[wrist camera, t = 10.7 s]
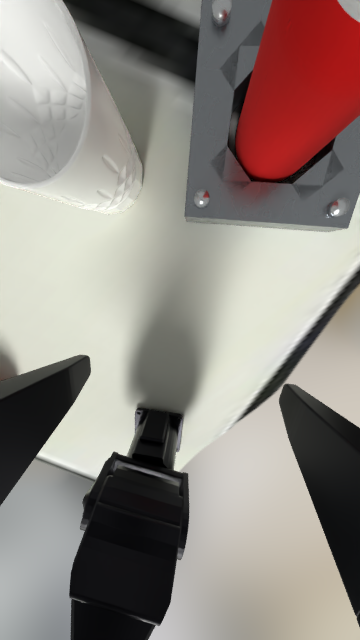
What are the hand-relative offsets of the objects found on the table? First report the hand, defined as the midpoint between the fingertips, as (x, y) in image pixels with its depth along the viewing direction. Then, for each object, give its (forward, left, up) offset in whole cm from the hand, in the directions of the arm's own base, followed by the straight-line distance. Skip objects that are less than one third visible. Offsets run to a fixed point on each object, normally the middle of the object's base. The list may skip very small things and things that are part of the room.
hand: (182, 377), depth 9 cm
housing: (+15, -5, -13) cm, 20 cm away
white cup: (+12, +9, -13) cm, 20 cm away
